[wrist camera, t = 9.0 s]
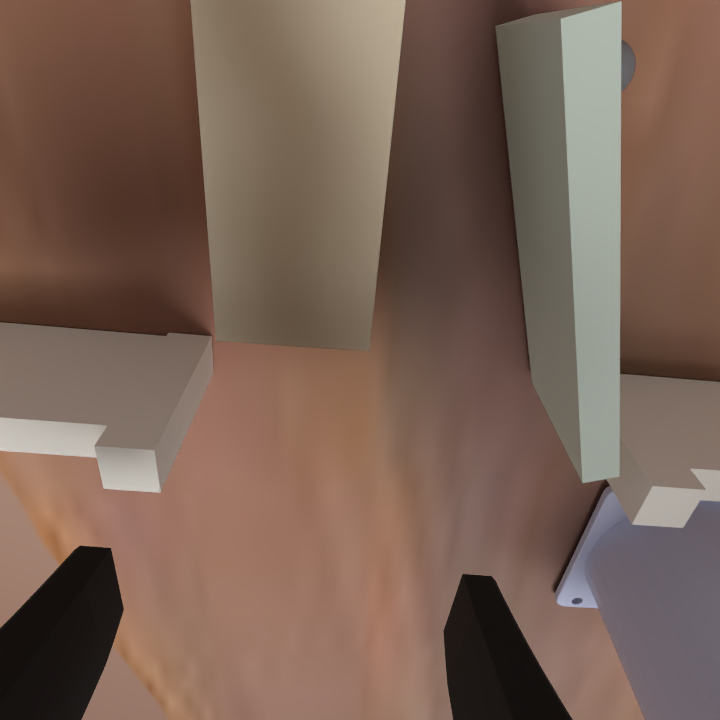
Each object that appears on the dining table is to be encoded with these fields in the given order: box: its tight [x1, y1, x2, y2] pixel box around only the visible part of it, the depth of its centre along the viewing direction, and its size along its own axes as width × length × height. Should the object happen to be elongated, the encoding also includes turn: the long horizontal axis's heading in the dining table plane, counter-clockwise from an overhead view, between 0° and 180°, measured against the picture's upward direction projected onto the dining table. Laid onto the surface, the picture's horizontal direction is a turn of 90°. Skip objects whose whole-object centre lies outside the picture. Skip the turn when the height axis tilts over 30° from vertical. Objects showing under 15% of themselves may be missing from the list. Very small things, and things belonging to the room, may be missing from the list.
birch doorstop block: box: [190, 0, 406, 351], centre depth 13 cm, size 4×8×4 cm, turn 175°
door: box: [495, 1, 636, 483], centre depth 14 cm, size 11×2×5 cm, turn 14°
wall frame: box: [0, 322, 720, 528], centre depth 16 cm, size 27×2×6 cm, turn 84°
